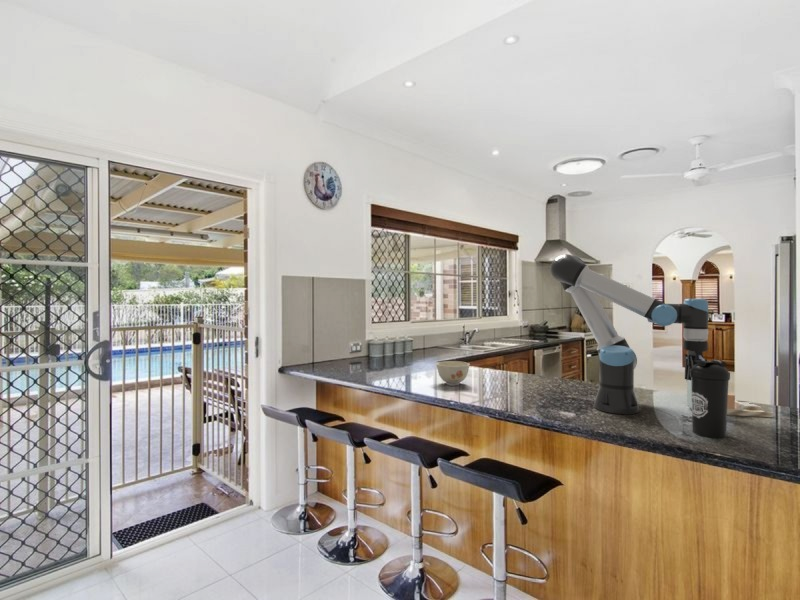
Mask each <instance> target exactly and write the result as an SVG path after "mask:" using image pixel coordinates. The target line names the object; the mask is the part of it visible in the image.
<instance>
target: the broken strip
mask: <svg viewBox="0 0 800 600" xmlns="http://www.w3.org/2000/svg"><path fill="white" fill-rule="evenodd" d="M740 403H742V404H744V406H758V405H757V404H756V403H753V404H749V403H752V402H740Z"/></svg>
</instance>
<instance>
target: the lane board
mask: <svg viewBox="0 0 800 600" xmlns="http://www.w3.org/2000/svg"><path fill="white" fill-rule="evenodd" d="M737 401H738V402H750V401H749V400H737ZM727 416H741V417H742V416H744V417H746V416H747V417H760V418H761V417H762V418H775V413H774V412H773V411H764V410H762V406H759V405H757V406H744V411H742V410H727Z"/></svg>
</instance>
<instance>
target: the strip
mask: <svg viewBox="0 0 800 600" xmlns="http://www.w3.org/2000/svg"><path fill="white" fill-rule="evenodd" d="M738 401H739V400H735V409H727V410H742V411H744V404H742V403H740V402H738ZM685 406H686V407H688V408H689V409H691V410H692V388H691V380H686V405H685Z"/></svg>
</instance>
